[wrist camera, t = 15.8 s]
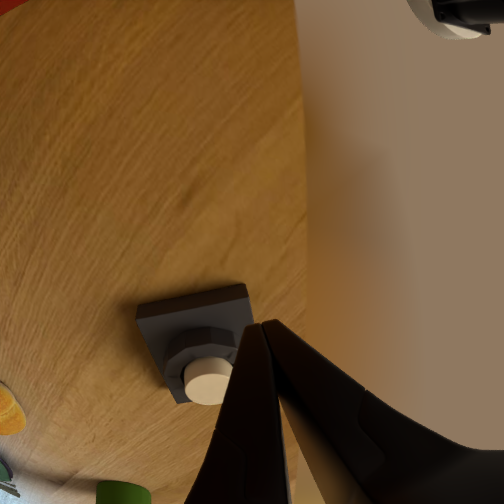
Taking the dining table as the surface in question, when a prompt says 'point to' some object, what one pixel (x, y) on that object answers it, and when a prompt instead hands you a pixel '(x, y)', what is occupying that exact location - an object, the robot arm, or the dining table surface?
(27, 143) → the dining table surface
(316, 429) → the robot arm
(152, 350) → the block
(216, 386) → the button
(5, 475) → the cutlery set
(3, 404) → the bread roll
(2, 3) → the toaster
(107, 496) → the wine bottle
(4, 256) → the dining table surface
